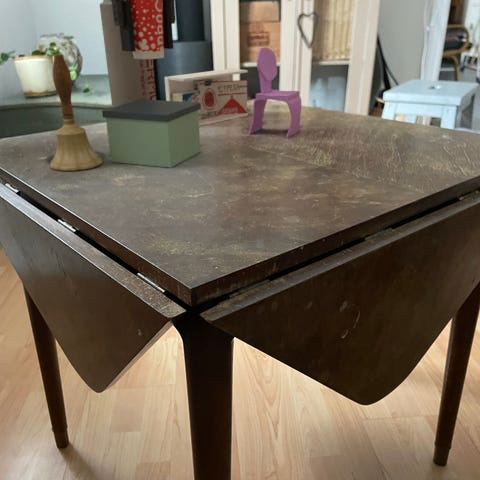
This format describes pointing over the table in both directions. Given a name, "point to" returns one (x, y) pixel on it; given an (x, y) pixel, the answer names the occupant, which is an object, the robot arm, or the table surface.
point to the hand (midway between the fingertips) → (148, 49)
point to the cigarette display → (211, 94)
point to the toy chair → (273, 93)
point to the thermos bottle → (124, 65)
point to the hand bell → (70, 127)
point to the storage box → (153, 132)
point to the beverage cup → (147, 28)
